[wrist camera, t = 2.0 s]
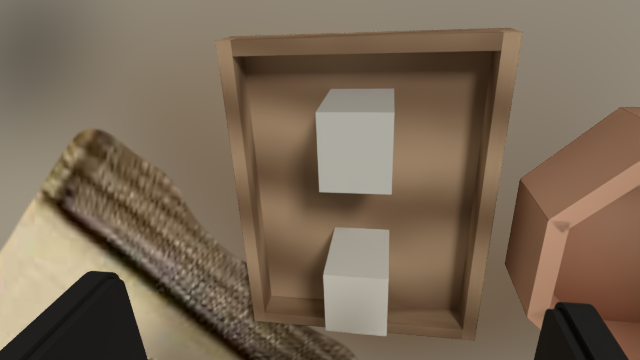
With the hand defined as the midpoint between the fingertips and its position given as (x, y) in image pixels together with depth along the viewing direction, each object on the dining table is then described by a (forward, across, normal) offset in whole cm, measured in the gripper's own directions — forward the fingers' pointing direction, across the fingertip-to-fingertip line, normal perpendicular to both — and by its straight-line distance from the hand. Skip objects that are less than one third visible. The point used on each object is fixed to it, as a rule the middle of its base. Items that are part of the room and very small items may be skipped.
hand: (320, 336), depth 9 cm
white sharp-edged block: (+16, 0, +9) cm, 18 cm away
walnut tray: (+16, 0, +4) cm, 17 cm away
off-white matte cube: (+16, 0, 0) cm, 16 cm away
